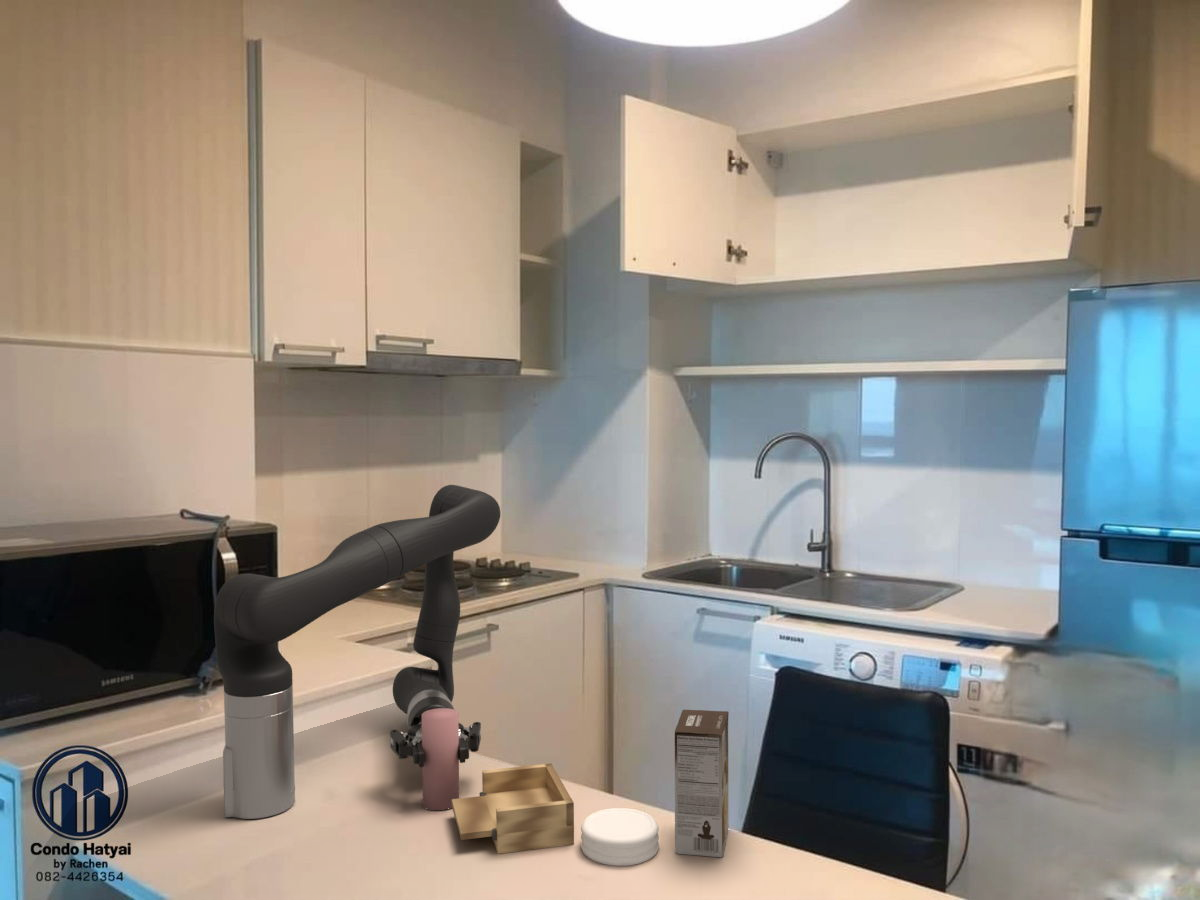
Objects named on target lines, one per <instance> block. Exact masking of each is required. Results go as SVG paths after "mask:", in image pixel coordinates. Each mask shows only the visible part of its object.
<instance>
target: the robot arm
mask: <svg viewBox="0 0 1200 900" xmlns="http://www.w3.org/2000/svg"><path fill="white" fill-rule="evenodd" d="M500 507H501V506H500V504H499V502H498V501H497V500H496V498H494V497H493V496H492V495H490V494H488V493H487V492H484V491H481V490H477V489H474V488H468V487H465V486H462V485H458V484H448V485H444V486H443V487H441V488H440V489H439V490H437V492H435V495H434V496H433V499H432V500H431V504H430V507H429V513H428V516H426V517H425V516H424V517H415V518H406V519H399V520H398V519H397V520H394V521H393V520H392V521H387V522H383V523H382V522H381V523H379V524H376V525H373V526H370V527H368V528H366V529H364V530H361V531H359V532H356V533H354V534H352V535H349V536H348V537H347V538H344V540H342V541H341V542H340V543H339V544H338V545H336V547H335V548H334V549H333V550H332V551H331V552H330V554H329V555H328V556H327V557H326V558H325V559H324V560H322V561H321V562H318V564H315V565H313V566H311V567H309V568H306V569H304V570H301V571H298V572H295V573H292V574H289V575H285V576H280V577H279V576H277V577H274V576H267V575H263V574H262V575H261V574H255V573H240V574H237V575H234V576H233V577H231V578H229V579H227V580H226V582H225V583H224V584H222V586H221V587H220V589H219V591H218V594H216V595H217V597H216V598H215V603H214V609H213V613H214V614H213V625H214V626H213V627H214V630H213V631H214V642H215V653H216V654H215V655H216V656H215V657H216V662H217V663H216V664H217V669H218V671H219V674H220V676H221V678H222V682H223V704H224V705H223V706H224V707H223V709H224V741H225V743H224V748H223V751H222V761H223V762H222V766H223V767H222V770H223V802H224V803H223V805H224V806H223V810H224V811H223V812H224V818H238V819H244V820H245V819H246V820H247V819H248V820H250V819H252V820H253V819H255V820H256V819H263V818H267V817H268V818H269V817H272V816H276V815H279V814H281V813H284V812H286V811H288V810H289V809H290V808H292V807H293V806H294V804H295V803H296V802H295V801H296V785H295V782H296V781H295V741H294V740H295V739H294V738H295V737H294V735H295V734H294V732H295V731H294V692H293V691H294V689H293V684H294V683H293V681H294V680H293V669H292V666H291V664H290V662H288V660H287V659H286V658H285V657H284V655H282V654H281V652H280V650H279V648H278V646H277V643H278V642H280V641H284V640H285V639H287V638H289V637H291V636H292V635H294V634H296V633H297V632H298V631H300V630H302V629H304V628H305V627H307V626H308V625H309V624H311V623H313V622H314V621H316V620H317V619H319V618H321V617H322V616H324V615H325V614H327V613H328V612H330V611H332V610H334V609H335V608H338V607H340V606H342V605H344V604H347V603H349V602H350V601H353V600H356V599H357V598H359V597H361V596H363V595H365V594H367V593H369V592H371V591H374V590H376V589H378V588H380V587H382V586H385V585H387V584H389V583H391V582H393V581H394V580H397V579H399V578H401V577H402V576H404V575H406V574H408V573H409V572H411V571H414V570H416V569H418V568H420V567H423V566H425V571H424V584H423V593H422V600H421V605H420V611H419V615H418V619H417V624H416V630H415V634H414V638H413V643H412V644H413V645H412V647H413V650H414V651H415V653H417V654H419V655H420V656H424V657H426V658H428V659H431V660H433V661H435V663H436V664H437V669H431V668H425V667H424V668H423V667H418V666H417V667H416V666H406V667H403V668H402V669H400V670H399V671H398V672H397V674H396V676H395V677H394V679H393V682H392V697H393V700H394V703H395V705H396V706H397V707H398V709H399V710H401V711H402V712H403V714H406V719H407V722H406V725H407V728H408V729H407V731H406V732H403V731H400V730H399V729H391V730H390V731H389V736H390V737H389V738H390V739H389V740H390V749H391V750H392V751H393V752H394V753H395V755H396V756H397V757H398V759H400V760H405V759H407V758H409V756H411V759H412V763H413V764H414V765H418V768H422V767H424V751H423V747H422V713H424V712H425V711H428V710H431V709H437V708H449V709H454V710H455V708H454V705H453V699H454V695H455V693H454V692H455V683H454V682H455V681H454V673H453V672H454V671H453V670H454V669H453V655H454V647H455V642H456V637H457V634H458V627H459V622H460V617H461V599H460V594H459V589H458V585H457V581H456V579H457V578H456V575H455V568H454V552H456V551H460V550H463V549H466V548H468V547H471V546H474V545H477V544H479V543H481V542H483V541H485V540H487V539H488V538H489V537H490V536H491V535H492V534H493V533H494V532H495V530H496V529H497V526H498V525H499V523H500V520H501V519H500V518H501V508H500ZM458 724H459V764H464V763H466V760H469V758H470V752H472V753H476V752H478V751H479V750H480V749H479V748H480V744H481V740H482V723H481V722H479V721H475V722H473V723H472V724H471V725H469V726H468V727H467V726H466V727H465V726H464V724H462V723H461V722H460V721H458Z"/></svg>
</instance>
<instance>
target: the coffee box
mask: <svg viewBox="0 0 1200 900" xmlns="http://www.w3.org/2000/svg"><path fill="white" fill-rule="evenodd" d="M728 831H729V711H725V710H723V711H722V710H708V709H707V710H706V709H705V710H702V709H682V711H681V714H680V717H679V719H678V722H677V725H676V727H675V730H674V852H675V854H677V855H688V856H690V855H691V856H700V857H701V856H703V857H713V858H723V857H724V853H725V849H726V843H727V838H728Z"/></svg>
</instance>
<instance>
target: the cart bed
mask: <svg viewBox="0 0 1200 900" xmlns="http://www.w3.org/2000/svg"><path fill="white" fill-rule="evenodd" d="M481 772H482V773H481V774H482V776H481V778H482V780H481V781H482V783H481V784H482V791H481V792H479V795H477V796H470V797H459V799H452V808H451V809H452V812H453V815H454V819H455V821H456V822H455V823H456V827H457V829H458V834H459V839H460V841H464V840H472V839H480V838H488V837H491V840H492V841H493V844H494V847H495V849H496V853H497V854H498V855H499V854H509V853H516V852H525V851H530V850H532V851H533V850H538V849H539V850H540V849H547V848H554V847H562V846H569V845H575V807H574V806H575V804H574V803H575V802H574V801H573V798H572V797H571V795H570V793H569V791H568V790H567V788H566V786H565V785H564V783H563V781H562V780H561V778H560V776H559V774H558V772H557V771H556V769H555V768H554V765H553V764H552V763H543V764H534V765H532V764H531V765H525V766H514V767H506V768H497V769H496V768H495V769H487V770H482V771H481Z"/></svg>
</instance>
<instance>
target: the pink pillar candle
mask: <svg viewBox="0 0 1200 900" xmlns="http://www.w3.org/2000/svg"><path fill="white" fill-rule="evenodd" d="M458 722H459V711H458V710H456V709H455V708H454V709H449V708H437V709H431V710H428V711H425V712H424V713H422V747H423V751H424V767H421V768H422V769H421V771H422V773H421V775H422V778H421V779H422V806H423V807H424V808H425V809H426V808H427V810H429V809H430V811H434V810H442V811H446V810H445V809H448V808H451V809H453V808H452V799H459V798H460V761H459V724H458ZM448 810H449V809H448Z"/></svg>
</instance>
